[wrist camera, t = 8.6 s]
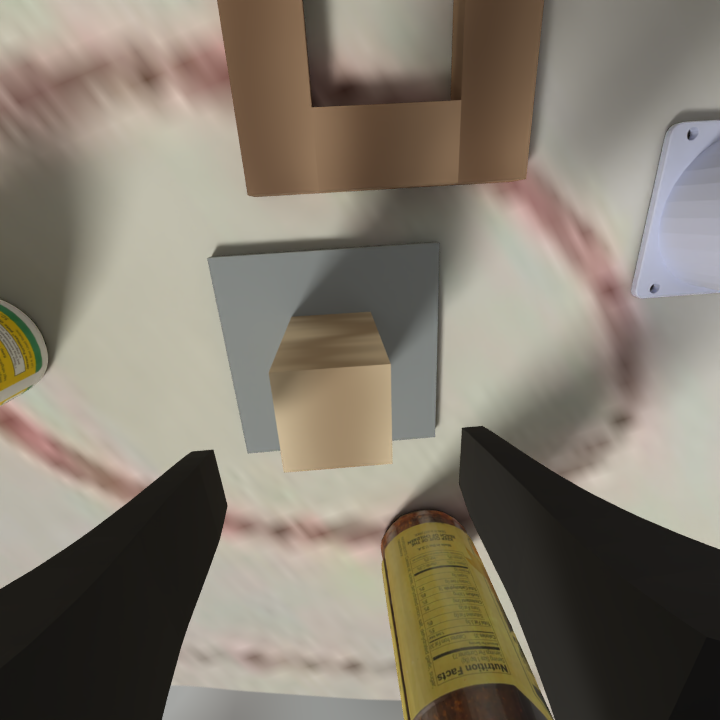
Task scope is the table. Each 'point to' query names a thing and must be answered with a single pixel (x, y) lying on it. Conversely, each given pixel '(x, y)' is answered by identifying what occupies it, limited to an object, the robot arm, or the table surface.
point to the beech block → (332, 393)
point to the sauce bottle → (451, 628)
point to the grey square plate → (331, 296)
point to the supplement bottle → (19, 353)
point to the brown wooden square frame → (382, 106)
